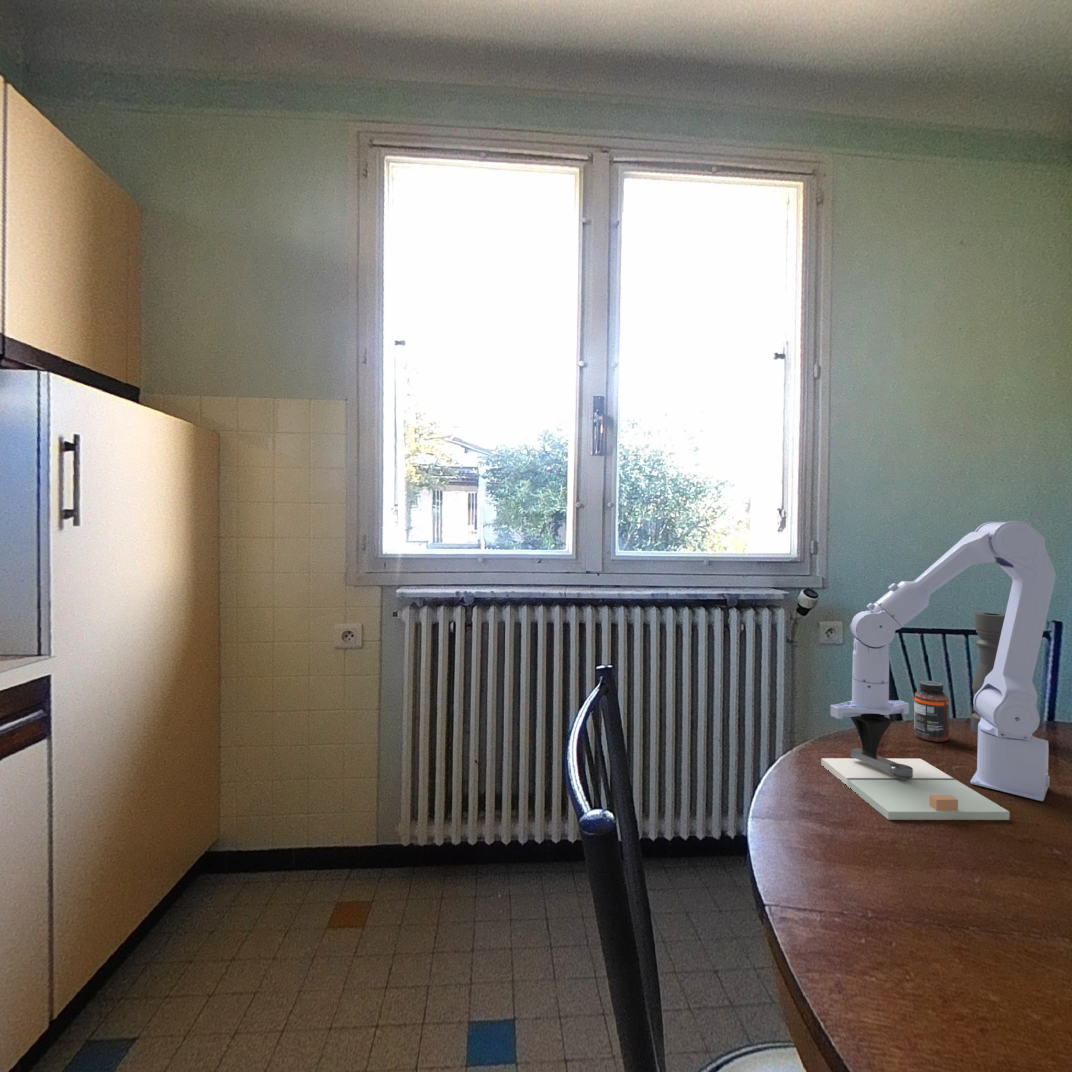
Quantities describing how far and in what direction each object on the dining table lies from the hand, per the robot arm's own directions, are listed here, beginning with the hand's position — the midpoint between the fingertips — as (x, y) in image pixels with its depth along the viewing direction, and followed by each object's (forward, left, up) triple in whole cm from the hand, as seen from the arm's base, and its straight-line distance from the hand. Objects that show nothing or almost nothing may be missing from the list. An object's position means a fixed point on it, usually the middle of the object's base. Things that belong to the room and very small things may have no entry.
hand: (869, 755), depth 109 cm
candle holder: (-12, -39, -3) cm, 41 cm away
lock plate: (-7, +5, -2) cm, 9 cm away
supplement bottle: (-4, -27, -3) cm, 27 cm away
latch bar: (-3, +3, 0) cm, 4 cm away
